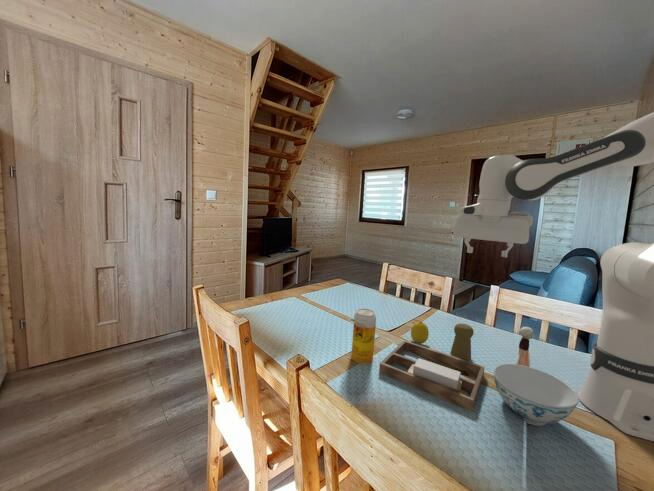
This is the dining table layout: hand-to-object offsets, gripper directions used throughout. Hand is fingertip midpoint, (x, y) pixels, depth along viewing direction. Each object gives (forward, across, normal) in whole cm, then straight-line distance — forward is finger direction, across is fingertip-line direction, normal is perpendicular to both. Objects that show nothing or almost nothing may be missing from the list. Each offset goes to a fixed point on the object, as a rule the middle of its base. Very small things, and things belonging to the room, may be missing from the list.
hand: (486, 254), depth 89 cm
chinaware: (+31, -15, +26) cm, 43 cm away
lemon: (+31, +15, +10) cm, 36 cm away
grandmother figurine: (+31, -13, +4) cm, 34 cm away
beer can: (+31, +24, +32) cm, 51 cm away
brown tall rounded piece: (+31, +2, +11) cm, 33 cm away
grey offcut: (+27, +4, +32) cm, 42 cm away
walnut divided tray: (+31, +6, +27) cm, 42 cm away
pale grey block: (+30, +4, +31) cm, 43 cm away
